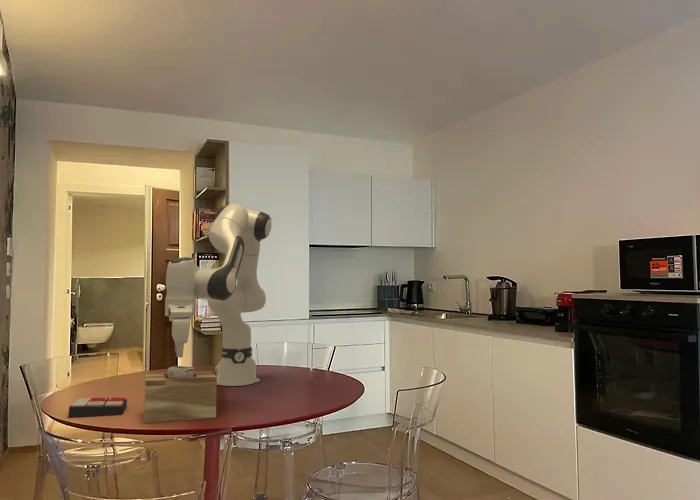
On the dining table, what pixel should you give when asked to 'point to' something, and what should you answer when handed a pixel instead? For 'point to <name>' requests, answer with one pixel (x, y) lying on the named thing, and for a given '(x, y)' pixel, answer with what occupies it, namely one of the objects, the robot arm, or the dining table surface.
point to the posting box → (179, 397)
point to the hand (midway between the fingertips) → (178, 355)
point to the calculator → (97, 407)
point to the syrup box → (180, 372)
